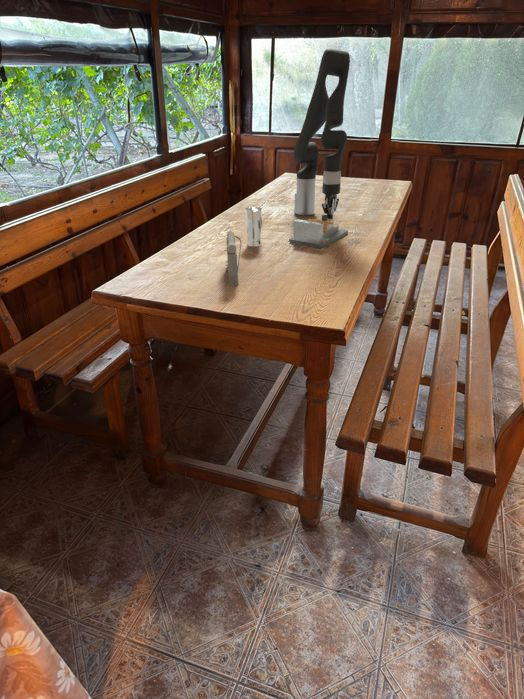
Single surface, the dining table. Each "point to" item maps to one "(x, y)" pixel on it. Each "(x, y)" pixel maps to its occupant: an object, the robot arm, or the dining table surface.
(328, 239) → the tester base
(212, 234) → the dining table surface
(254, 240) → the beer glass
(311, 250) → the dining table surface
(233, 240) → the geiger counter
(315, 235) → the brushed metal plate
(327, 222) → the peak pointer
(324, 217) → the spring plunger
